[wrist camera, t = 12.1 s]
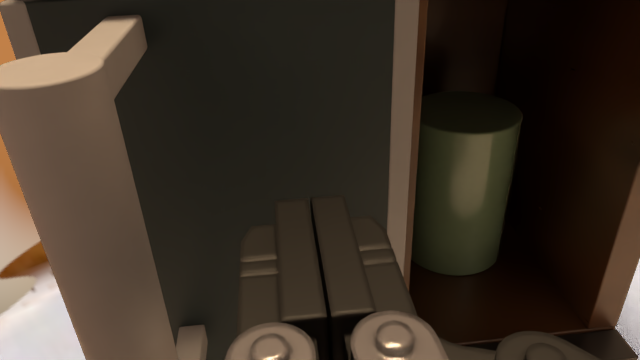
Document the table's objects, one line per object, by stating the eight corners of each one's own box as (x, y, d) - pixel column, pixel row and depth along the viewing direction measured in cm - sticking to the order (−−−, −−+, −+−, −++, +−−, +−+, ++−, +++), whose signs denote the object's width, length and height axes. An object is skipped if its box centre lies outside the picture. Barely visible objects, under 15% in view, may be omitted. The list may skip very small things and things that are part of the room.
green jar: (478, 214, 27) (496, 86, 24) (516, 271, 23) (544, 128, 20) (391, 222, 27) (397, 94, 23) (415, 281, 23) (426, 137, 19)
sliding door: (449, 539, 14) (534, 44, 7) (82, 590, 13) (-199, 93, 6) (394, 353, 19) (414, -26, 12) (133, 383, 18) (8, -3, 12)
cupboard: (631, 376, 20) (820, -107, 12) (145, 435, 18) (-20, -68, 10) (491, 193, 31) (538, -112, 23) (188, 220, 30) (126, -94, 22)
